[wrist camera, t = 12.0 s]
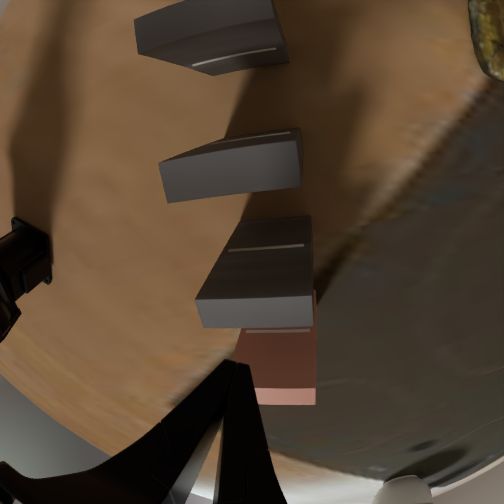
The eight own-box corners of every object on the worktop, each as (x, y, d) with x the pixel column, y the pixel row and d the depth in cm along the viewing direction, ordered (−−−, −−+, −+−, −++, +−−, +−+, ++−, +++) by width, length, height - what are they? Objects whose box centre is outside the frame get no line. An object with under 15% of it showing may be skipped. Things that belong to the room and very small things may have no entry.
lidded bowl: (391, 470, 37) (393, 522, 27) (442, 467, 36) (447, 512, 26) (359, 491, 43) (357, 535, 33) (407, 489, 42) (408, 529, 32)
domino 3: (239, 221, 21) (194, 298, 13) (310, 214, 20) (311, 294, 12) (243, 242, 22) (203, 328, 13) (312, 237, 21) (313, 326, 12)
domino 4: (252, 291, 24) (223, 385, 15) (315, 289, 23) (315, 387, 14) (255, 308, 24) (229, 402, 16) (316, 306, 23) (315, 404, 15)
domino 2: (223, 137, 19) (158, 161, 10) (299, 127, 18) (295, 139, 9) (228, 161, 19) (167, 204, 11) (303, 152, 18) (301, 188, 10)
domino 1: (209, 54, 16) (133, 18, 8) (285, 39, 15) (265, -20, 7) (213, 76, 17) (138, 55, 8) (289, 63, 16) (274, 19, 7)
